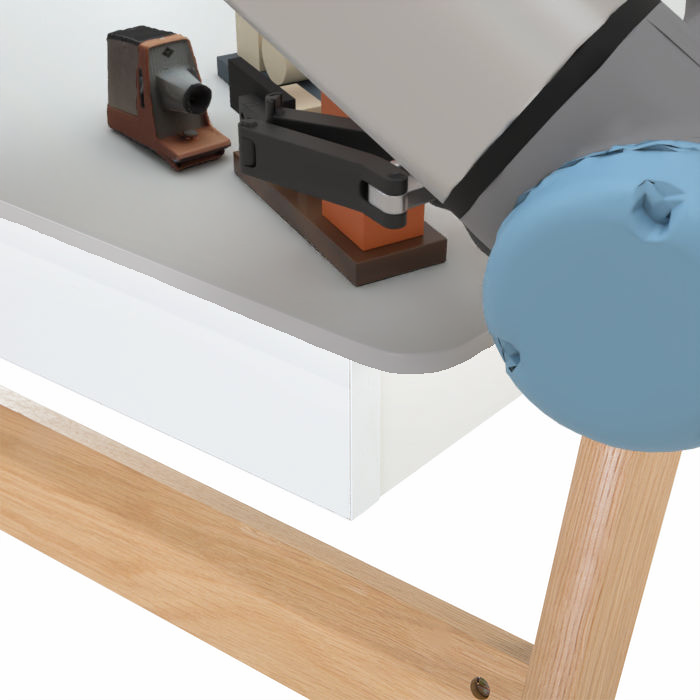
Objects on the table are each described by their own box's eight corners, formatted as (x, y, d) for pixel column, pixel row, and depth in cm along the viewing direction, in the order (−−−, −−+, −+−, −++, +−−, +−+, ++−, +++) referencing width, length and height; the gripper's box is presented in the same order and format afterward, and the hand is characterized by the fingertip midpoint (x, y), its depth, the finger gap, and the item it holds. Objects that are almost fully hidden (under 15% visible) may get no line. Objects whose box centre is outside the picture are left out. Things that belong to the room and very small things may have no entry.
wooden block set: (393, 138, 85) (395, 62, 82) (316, 156, 83) (316, 78, 80) (287, 61, 97) (285, -8, 94) (217, 75, 95) (213, 4, 92)
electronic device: (178, 176, 80) (169, 65, 76) (104, 129, 86) (92, 24, 82) (234, 158, 82) (228, 49, 78) (158, 114, 89) (149, 11, 85)
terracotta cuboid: (423, 235, 71) (435, -26, 62) (363, 251, 69) (366, -14, 61) (380, 199, 74) (385, -51, 66) (321, 214, 73) (319, -41, 64)
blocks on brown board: (446, 261, 71) (451, 175, 68) (356, 287, 69) (356, 198, 66) (314, 153, 83) (313, 76, 80) (233, 172, 81) (229, 93, 78)
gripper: (327, 366, 51) (142, 167, 66) (773, 228, 61) (522, 83, 76) (326, 204, 47) (128, 31, 62) (806, 84, 57) (533, -39, 72)
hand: (345, 59), depth 69 cm, fingers open, 13 cm apart
